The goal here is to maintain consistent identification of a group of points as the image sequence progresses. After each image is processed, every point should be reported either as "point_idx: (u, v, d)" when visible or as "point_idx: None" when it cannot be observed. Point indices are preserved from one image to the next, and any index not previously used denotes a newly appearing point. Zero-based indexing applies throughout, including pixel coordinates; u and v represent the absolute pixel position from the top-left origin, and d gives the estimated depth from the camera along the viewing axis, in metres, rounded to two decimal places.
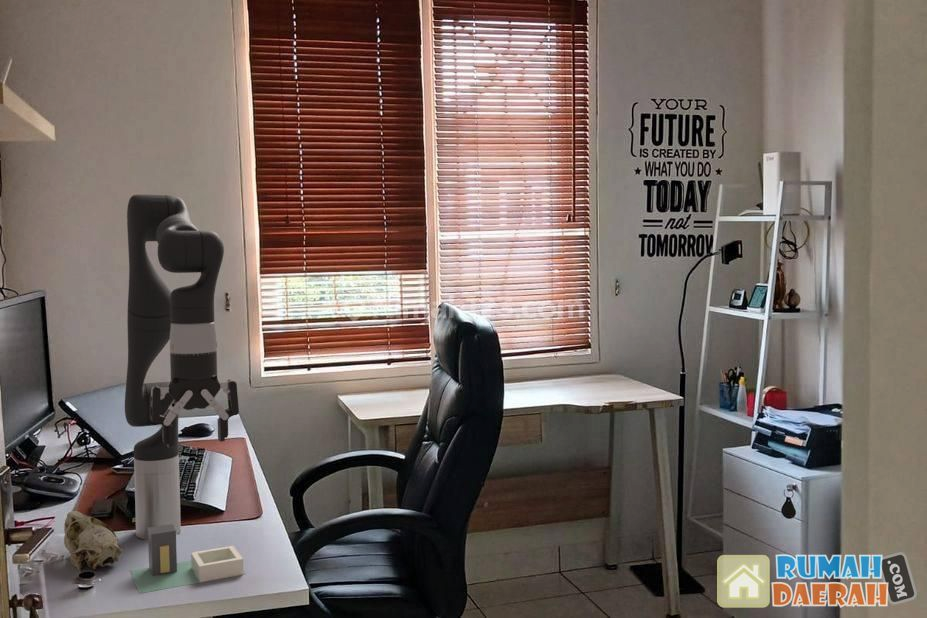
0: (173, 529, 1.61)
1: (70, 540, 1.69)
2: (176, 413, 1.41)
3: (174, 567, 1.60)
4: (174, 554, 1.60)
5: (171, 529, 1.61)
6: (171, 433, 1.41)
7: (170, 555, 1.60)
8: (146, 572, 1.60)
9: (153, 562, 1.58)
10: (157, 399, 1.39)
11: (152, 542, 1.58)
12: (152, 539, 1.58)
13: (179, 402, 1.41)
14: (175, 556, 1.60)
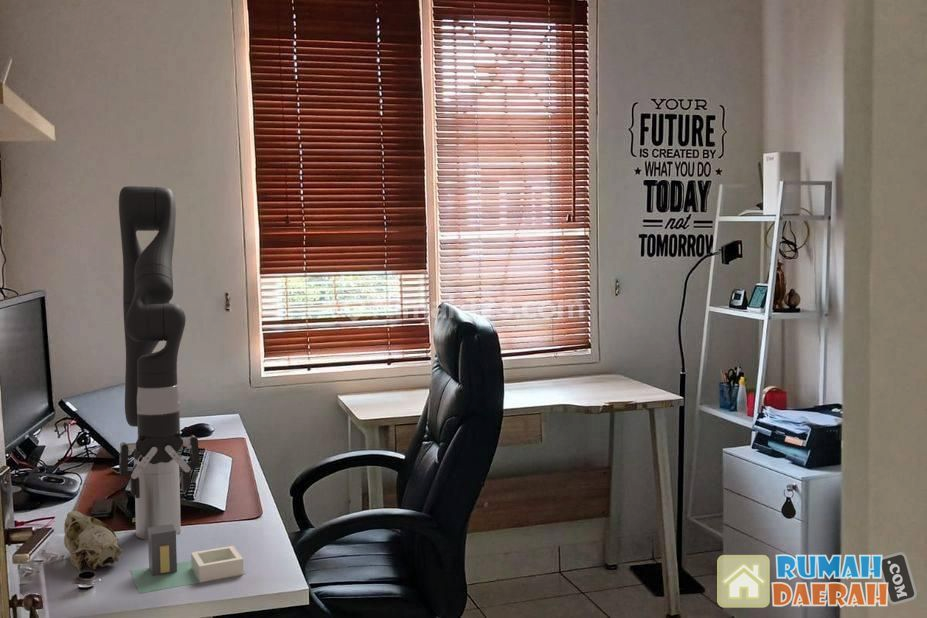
0: (173, 529, 1.61)
1: (70, 540, 1.69)
2: (142, 467, 1.57)
3: (174, 567, 1.60)
4: (174, 554, 1.60)
5: (171, 529, 1.61)
6: (138, 485, 1.57)
7: (170, 555, 1.60)
8: (146, 572, 1.60)
9: (153, 562, 1.58)
10: (125, 455, 1.56)
11: (152, 542, 1.58)
12: (152, 539, 1.58)
13: (145, 457, 1.57)
14: (175, 556, 1.60)
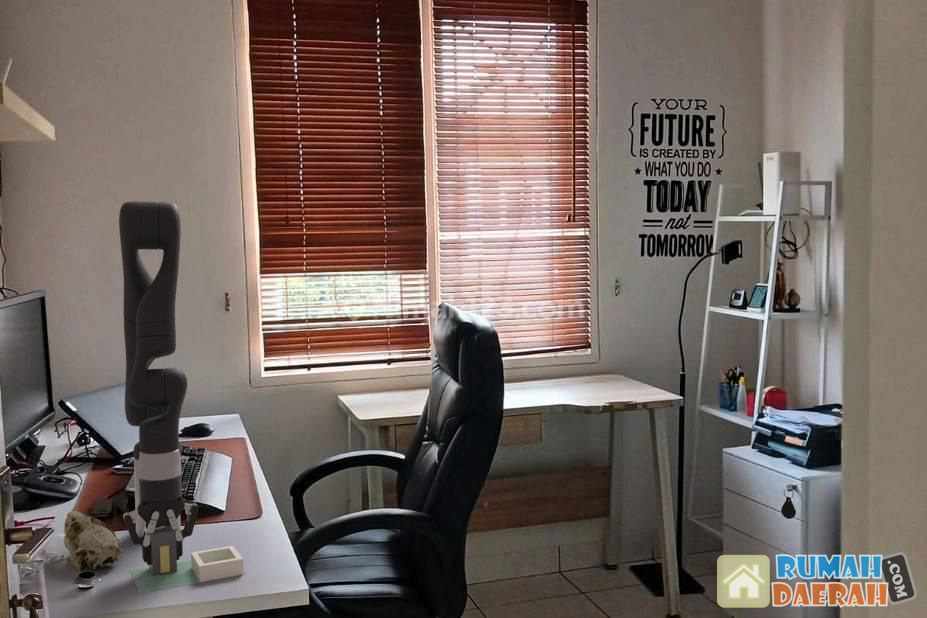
0: None
1: (70, 540, 1.69)
2: None
3: (175, 567, 1.60)
4: (174, 554, 1.60)
5: (171, 529, 1.61)
6: (150, 552, 1.59)
7: (170, 555, 1.60)
8: (146, 572, 1.60)
9: (153, 562, 1.58)
10: (131, 525, 1.57)
11: (152, 542, 1.58)
12: (152, 539, 1.58)
13: (150, 524, 1.58)
14: (175, 556, 1.60)
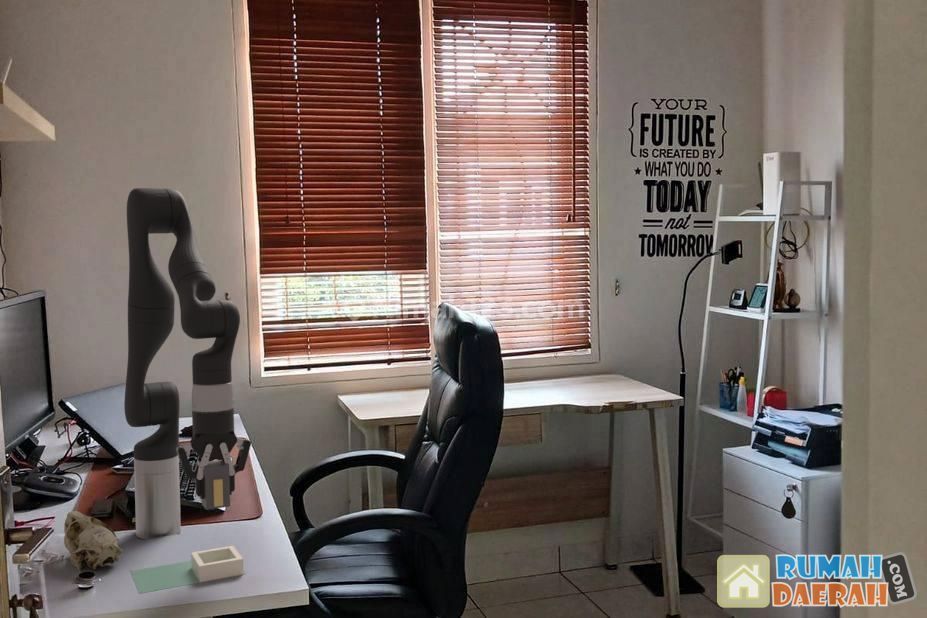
0: None
1: (70, 540, 1.69)
2: None
3: (228, 502, 1.59)
4: (227, 488, 1.58)
5: (224, 463, 1.59)
6: (203, 486, 1.58)
7: (223, 489, 1.58)
8: (146, 572, 1.60)
9: (207, 496, 1.57)
10: (184, 457, 1.56)
11: (206, 475, 1.56)
12: (206, 472, 1.56)
13: (203, 457, 1.57)
14: (228, 490, 1.59)
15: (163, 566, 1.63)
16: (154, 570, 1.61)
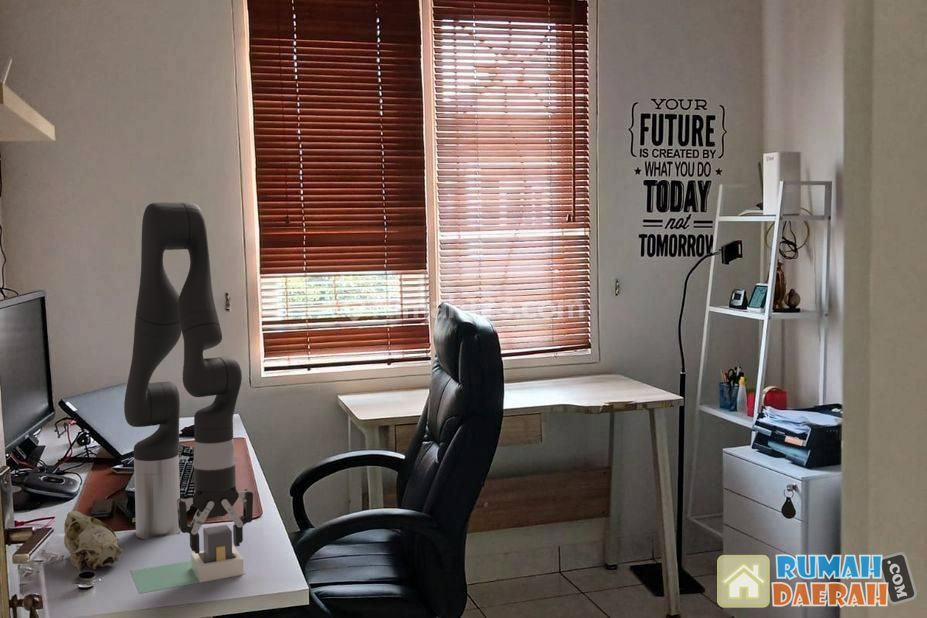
0: (229, 530, 1.60)
1: (70, 540, 1.69)
2: (201, 522, 1.57)
3: None
4: (230, 555, 1.60)
5: (227, 529, 1.60)
6: (198, 541, 1.58)
7: (226, 556, 1.59)
8: (146, 572, 1.60)
9: None
10: (183, 512, 1.56)
11: (208, 543, 1.58)
12: (208, 540, 1.58)
13: (203, 513, 1.57)
14: (231, 557, 1.60)
15: (163, 566, 1.63)
16: (154, 570, 1.61)
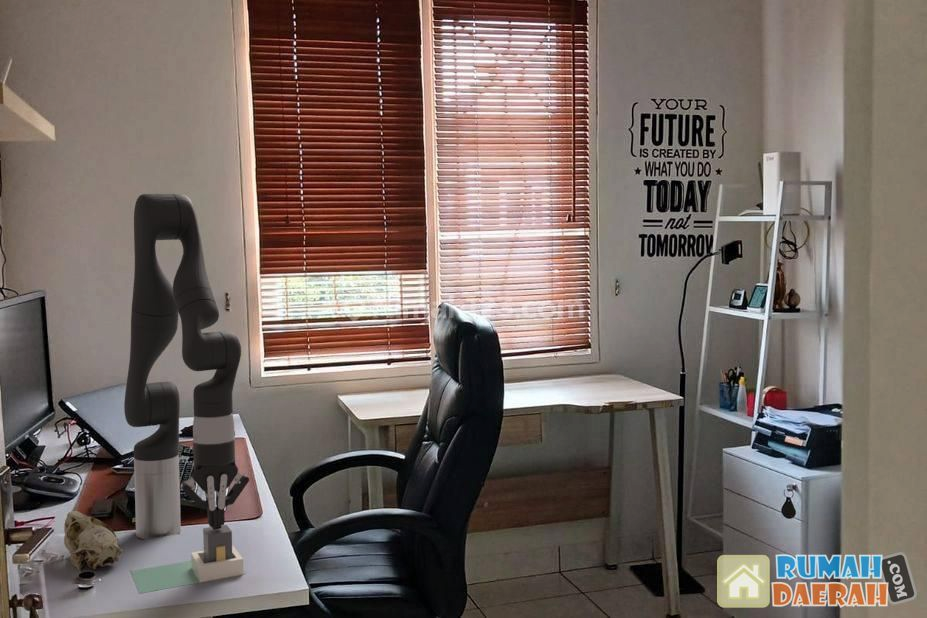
0: (229, 530, 1.60)
1: (70, 540, 1.69)
2: (213, 497, 1.58)
3: None
4: (230, 555, 1.60)
5: (227, 529, 1.60)
6: (216, 517, 1.59)
7: (226, 556, 1.59)
8: (146, 572, 1.60)
9: None
10: (191, 492, 1.56)
11: (208, 543, 1.58)
12: (208, 540, 1.58)
13: (208, 489, 1.57)
14: (231, 557, 1.60)
15: (163, 566, 1.63)
16: (154, 570, 1.61)
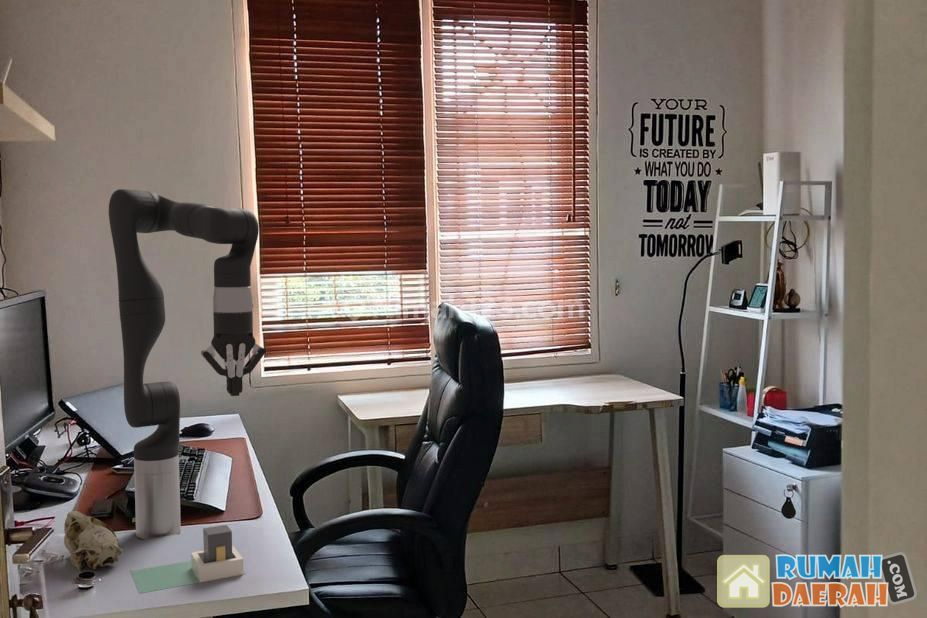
0: (229, 530, 1.60)
1: (70, 540, 1.69)
2: (232, 365, 1.67)
3: None
4: (230, 555, 1.60)
5: (227, 529, 1.60)
6: (234, 384, 1.68)
7: (226, 556, 1.59)
8: (146, 572, 1.60)
9: None
10: (211, 359, 1.65)
11: (208, 543, 1.58)
12: (208, 540, 1.58)
13: (227, 357, 1.66)
14: (231, 557, 1.60)
15: (163, 566, 1.63)
16: (154, 570, 1.61)
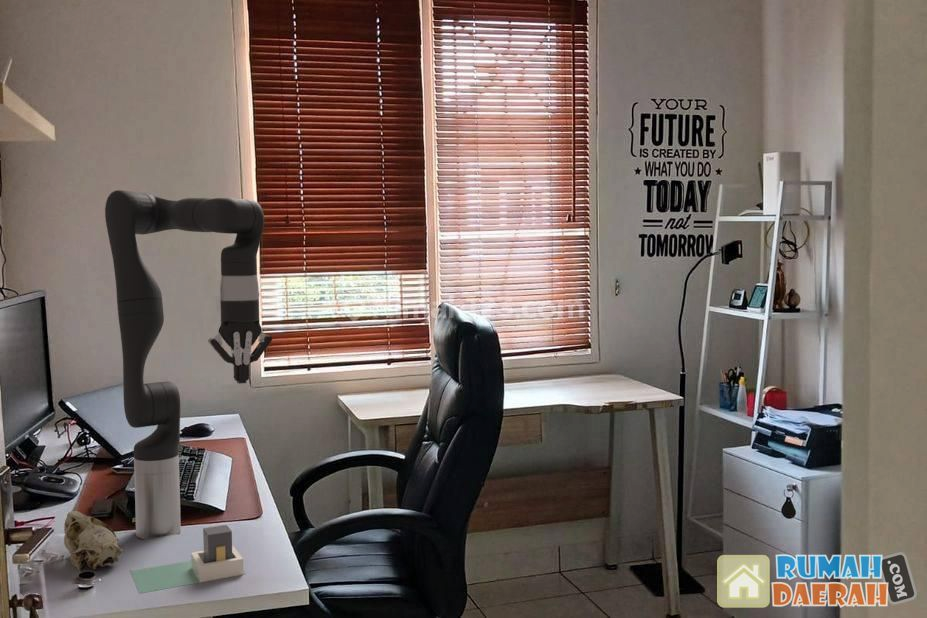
0: (229, 530, 1.60)
1: (70, 540, 1.69)
2: (239, 352, 1.70)
3: None
4: (230, 555, 1.60)
5: (227, 529, 1.60)
6: (241, 371, 1.71)
7: (226, 556, 1.59)
8: (146, 572, 1.60)
9: None
10: (219, 347, 1.68)
11: (208, 543, 1.58)
12: (208, 540, 1.58)
13: (235, 344, 1.69)
14: (231, 557, 1.60)
15: (163, 566, 1.63)
16: (154, 570, 1.61)
